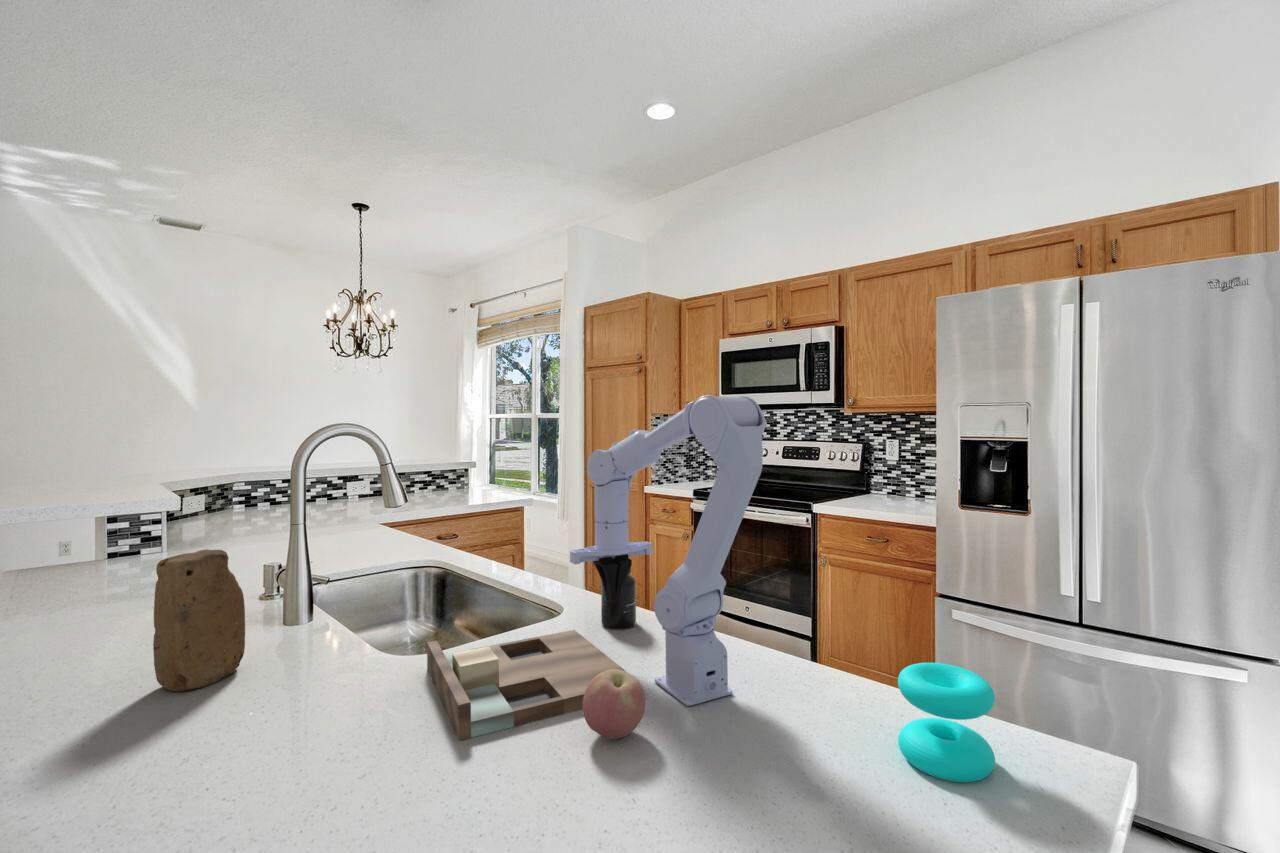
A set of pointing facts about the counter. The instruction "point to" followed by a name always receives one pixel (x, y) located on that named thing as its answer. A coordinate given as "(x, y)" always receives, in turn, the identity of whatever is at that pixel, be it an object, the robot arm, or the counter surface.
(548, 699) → the board
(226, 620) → the block
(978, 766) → the donuts
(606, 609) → the supplement bottle
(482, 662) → the beech block
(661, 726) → the counter surface
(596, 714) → the apple
